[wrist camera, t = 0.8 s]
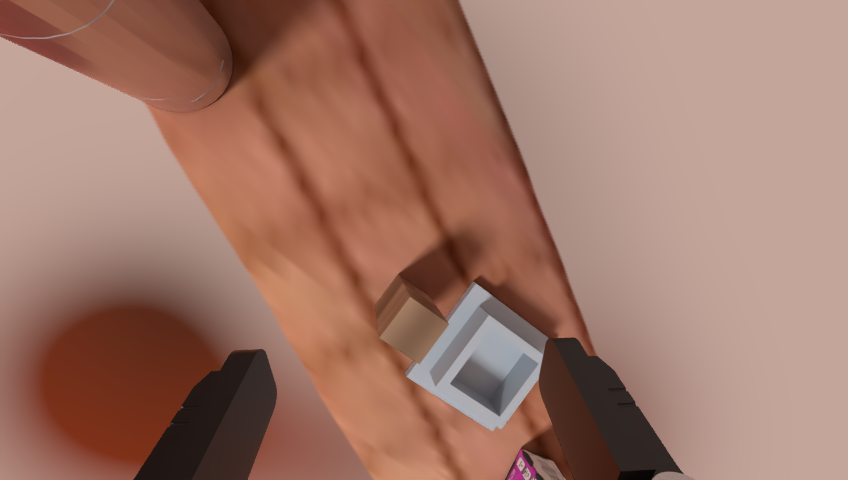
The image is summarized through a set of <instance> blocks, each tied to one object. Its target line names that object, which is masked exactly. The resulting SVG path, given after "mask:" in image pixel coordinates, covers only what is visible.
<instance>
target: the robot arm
mask: <svg viewBox="0 0 848 480" xmlns="http://www.w3.org/2000/svg"><path fill="white" fill-rule="evenodd" d="M0 37H2V38H4V39H6V40H8V41H11V42H13V43H15V44H17V45H19V46H22V47H24V48H26V49H29V50H31V51H33V52H35V53H37V54H39V55H42V56H44V57H46V58H48V59H51V60H53V61H55V62H57V63H59V64H61V65H64V66H66V67H68V68H70V69H73V70H75V71H77V72H79V73H81V74H84V75H86V76H88V77H90V78H92V79H95V80H97V81H99V82H101V83H104V84H106V85H108V86H110V87H112V88H115V89H117V90H119V91H121V92H123V93H125V94H128V95H130V96H132V97H134V98H137V99H139V100H141V101H143V102H145V103H148V104H150V105H152V106H154V107H157V108H159V109H163V110H167V111H171V112H189V111H196V110H199V109H201V108H204V107H206V106H208V105H210V104H211V103H213V102H214V101H216V100H217V99H218V98H219V97H220V96H221V95H222V94H223V92H224V91H225V89H226V87H227V86H228V84H229V81H230V78H231V75H232V66H233V59H232V52H231V48H230V45H229V42H228V40H227V37H226V36H225V34H224V32H223V31H222V29H221V27H220V26H219V25H218V24H217V22H216V21H215V20H214V19H213V17H212V16H211V15H210V14H209V12H208V11H207V10H206V9H205V7H204V6H203V5H202V4H201V2H200V1H199V0H0ZM539 387H540V392H541V396H542V399H543V402H544V404H545V407H546V409H547V412H548V414H549V417H550V419H551V422H552V424H553V427H554V429H555V432H556V434H557V437H558V440H559V442H560V445H561V447H562V450H563V452H564V455H565V457H566V460H567V462H568V465H569V467H570V470H571V472H572V475H573V477H574V480H695V479H693V478H691V477H689V476H686V475H684V474H683V472H682V471H681V470H680V469H679V467H678V466H677V465H676V463H675V462H674V460H673V459H672V457H671V456H670V454H669V453H668V452H667V450H666V448H665V447H664V445H663V444H662V442H661V441H660V439H659V438H658V436H657V435H656V433H655V431H654V430H653V428H652V427H651V425H650V424H649V422H648V421H647V419H646V418H645V416H644V415H643V413H642V412H641V410H640V409H639V407H637V406H636V405H635V401H634V400H633V398H632V397H631V395H630V394H629V392H627V391H626V388H625V386H624V385H623V383H622V382H621V380H620V379H619V377H618V376H617V374H616V372H615V371H614V370H613V369H612V368H611V367H609V366H608V365H607V364H606V363H605V362H603V361H602V360H601V359H600V358H599V357H598V356H588V355H587V353H586V352H585V350H584V349H583V347H582V345H581V344H580V342H579V341H578V340H577V339H576V338H552V339H547V341H546V344H545V349H544V354H543V358H542V363H541V368H540V373H539ZM276 397H277V389H276V384H275V381H274V378H273V374H272V371H271V368H270V364H269V361H268V358H267V355H266V352H265V351H264V350H263V349H257V350H235V351H233V352H232V353H231V354H230V355H229V356H228V358H227V360H226V361H225V363H224V365H223V366H222V368H221V370H220V371H211V372H210V373H209V374H208V375H207V376H206V377H205V378H203V379H202V380H201V381H200V382H199V383H198V384H197V385H196V386H195V387H194V388H193V389H192V390H191V392H190V394H189V395H188V397H187V398H186V400H185V401H184V403H183V404H182V406H181V410H180V411H178V412H177V414H176V415H175V417H174V418H173V420H172V421H171V425H170V427H168V428H167V429H166V431H165V432H164V434H163V435H162V437H161V438H160V440H159V441H158V443H157V445H156V446H155V447H154V449H153V451H152V452H151V454H150V455H149V457H148V458H147V460H146V461H145V463H144V465H143V466H142V467H141V469H140V471H139V472H138V474H137V475H136V477H135V478H134V480H248V476H249V474H250V471H251V469H252V466H253V464H254V461H255V458H256V456H257V453H258V450H259V447H260V445H261V443H262V440H263V437H264V435H265V432H266V429H267V427H268V424H269V421H270V419H271V416H272V414H273V411H274V408H275V404H276Z"/></svg>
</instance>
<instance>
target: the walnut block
mask: <svg viewBox="0 0 848 480" xmlns="http://www.w3.org/2000/svg"><path fill="white" fill-rule="evenodd" d="M375 311H376V318H377V325H378V332H379V338H380V339H382V340H383V341H385V342H386V343H388V344H389V345H391V346H392V347H394V348H395V349H397V350H398V351H400V352H401V353H403V354H405V355H406V356H408V357H409V358H411V359H412V360H414V361H415V362H417V363H418V364H420V363H421V362H422V360H423V359H424V358H425V356H426V355H427V354H428V352H429V351H430V350H431V348H432V347H433V345H434V344H435V343H436V341H437V340H438V339H439V337H440V336H441V335H442V333H443V332H444V331H445V329H446V328H447V327H448V325H449V323H448V322H447V320H446V319H445V318H444V316H443V315H442V314H441V312H440V311H439V309H438V308H437V307H436V305H435V304H434V302H433V301H432V300H431V298H430V297H429V296H428V295H427V294H426V293H424V292H423V291H421V290H420V289H419V288H417V287H416V286H414V285H413V284H412V283H410V282H409V281H407V280H406V279H405V278H403V277H402V276H400V275H399V274H398V275H397V276H396V278H395V279H394V280H393V282H392V283H391V284H390V286H389V287H388V288H387V290H386V291H385V292H384V294H383V295H382V296H381V298H380V299H379V300H378V302H377V303H376V304H375Z"/></svg>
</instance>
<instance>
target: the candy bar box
mask: <svg viewBox="0 0 848 480" xmlns="http://www.w3.org/2000/svg"><path fill="white" fill-rule="evenodd" d="M506 480H566V478H565V477H564V476H563V474H562V473H561V471H560V470H559V469H558V467H557V466H556V465H555V463H554V462H553V461H552V460H550V459H548V458H545V457H542V456H539V455H537V454H535V453H532V452H530V451H527V450H524V449H521V450H520V452H519V454H518V456H517V458H516V460H515V462H514V464H513V466H512V468H511V470H510V472H509V474H508V476H507V478H506Z"/></svg>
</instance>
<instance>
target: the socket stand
mask: <svg viewBox="0 0 848 480" xmlns="http://www.w3.org/2000/svg"><path fill="white" fill-rule="evenodd" d="M445 319H446V320H447V322H448V323H449V325H448V327H447V328H446V329H445V331H444V332H443V333H442V335H441V336H440V337H439V339H438V340H437V341H436V343H435V344H434V345H433V347H432V348H431V350H430V351H429V352H428V354H427V355H426V356H425V358H424V359H423V360H422V362H421V363H420V364H418V363H417V362H415V361H413V363H412V364H411V365H410V367H409V368H408V369H407V371H406V376H407V377H408V378H409V379H411V380H412V381H414V382H416V383H417V384H419V385H420V386H422V387H423V388H425V389H426V390H428V391H430V392H431V393H433V394H434V395H436V396H437V397H439V398H441V399H442V400H444V401H445V402H447V403H448V404H450V405H452V406H453V407H455V408H456V409H458V410H459V411H461V412H463V413H464V414H466V415H467V416H469V417H470V418H472V419H473V420H475V421H477V422H478V423H480V424H481V425H483V426H484V427H486V428H488V429H489V430H491V431H493V430H494V429H495V427H496V426H497V427H498V428H500V429H502V428H503V426H504V425H505V424H506V422H507V421H508V420H509V418H510V417H511V415H512V414H513V413H514V411H515V410H516V409H517V407H518V406H519V405H520V403H521V402H522V401H523V399H524V398H525V396H526V395H527V394H528V392H529V391H530V390H531V388H532V387H533V386H534V384H535V383H536V381H537V380H538V379H539V373H540V368H541V363H542V358H543V354H544V349H545V344H546V341H547V339H549V338H548V337H547V336H545V335H544V334H543V333H541V332H540V331H539V330H537V329H536V328H535V327H533V326H532V325H531V324H529V323H528V322H527V321H525V320H524V319H523V318H521V317H520V316H519V315H517V314H516V313H515V312H513V311H512V310H511V309H509V308H508V307H507V306H505V305H504V304H503V303H501V302H500V301H499V300H497V299H496V298H495V297H493V296H492V295H491V294H489V293H488V292H487V291H485V290H484V289H483V288H482V287H480V286H479V285H478V284H476V283H475V282H472V283H471V285H470V286H469V287H468V289H467V290H466V291H465V293H464V294H463V295H462V297H461V298H460V299H459V301H458V302H457V304H456V305H455V306H454V308H453V309H452V310H451V312H450V313H449V314H448V316H447V317H446V318H445Z"/></svg>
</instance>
